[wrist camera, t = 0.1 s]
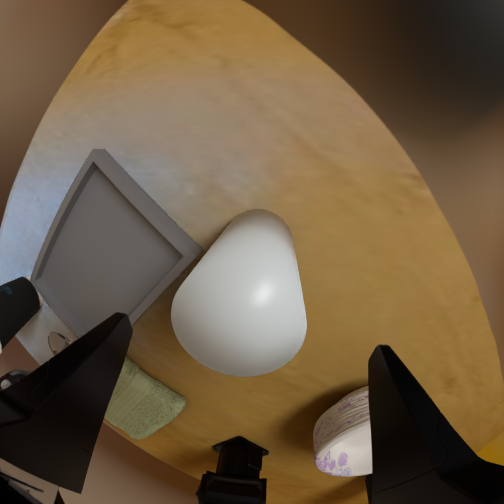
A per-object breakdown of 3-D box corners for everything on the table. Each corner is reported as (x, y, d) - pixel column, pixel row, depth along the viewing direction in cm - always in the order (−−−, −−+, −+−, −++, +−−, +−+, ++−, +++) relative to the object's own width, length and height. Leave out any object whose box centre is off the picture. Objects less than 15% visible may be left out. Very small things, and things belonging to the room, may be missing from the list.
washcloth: (84, 390, 35) (75, 402, 32) (114, 339, 30) (102, 353, 27) (145, 434, 37) (139, 447, 34) (196, 398, 32) (190, 416, 29)
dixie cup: (29, 255, 27) (-29, 287, 17) (58, 305, 29) (6, 348, 18) (12, 279, 29) (-36, 309, 19) (38, 322, 31) (-6, 360, 20)
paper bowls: (288, 424, 31) (288, 471, 24) (362, 350, 27) (381, 403, 19) (367, 442, 32) (375, 481, 25) (437, 381, 28) (458, 420, 20)
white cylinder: (257, 287, 25) (238, 392, 13) (210, 242, 24) (147, 318, 12) (306, 245, 23) (334, 330, 11) (258, 194, 23) (234, 231, 10)
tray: (108, 350, 30) (101, 359, 28) (38, 274, 28) (29, 280, 26) (202, 249, 24) (196, 256, 23) (104, 149, 22) (93, 149, 20)
